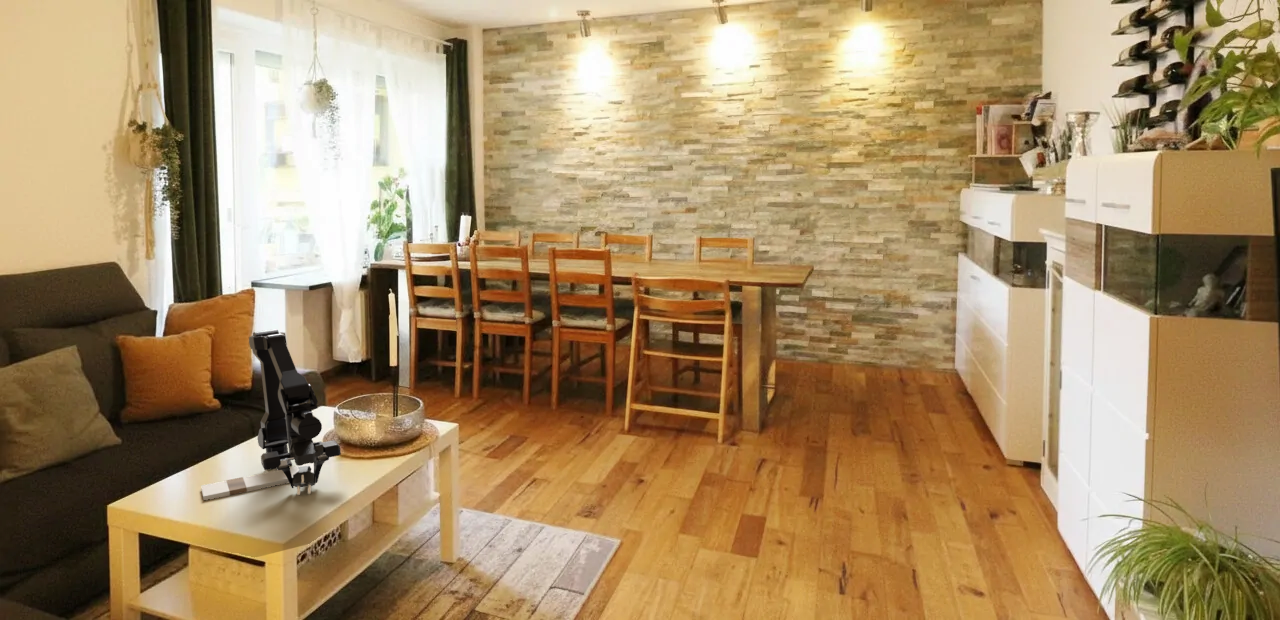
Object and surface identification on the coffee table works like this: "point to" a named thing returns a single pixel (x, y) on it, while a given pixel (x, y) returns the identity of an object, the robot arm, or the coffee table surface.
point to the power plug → (304, 479)
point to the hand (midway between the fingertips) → (304, 485)
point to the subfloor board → (248, 483)
